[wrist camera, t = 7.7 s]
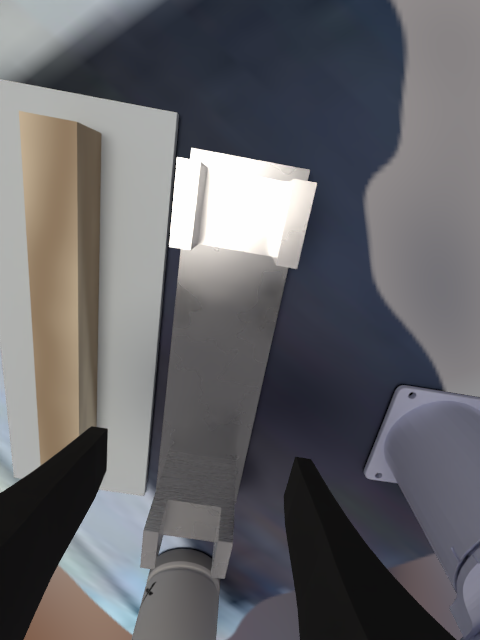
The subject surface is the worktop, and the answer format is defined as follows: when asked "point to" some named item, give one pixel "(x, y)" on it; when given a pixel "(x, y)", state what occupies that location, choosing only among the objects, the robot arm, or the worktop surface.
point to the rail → (62, 272)
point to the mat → (114, 273)
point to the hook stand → (221, 335)
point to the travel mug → (179, 599)
